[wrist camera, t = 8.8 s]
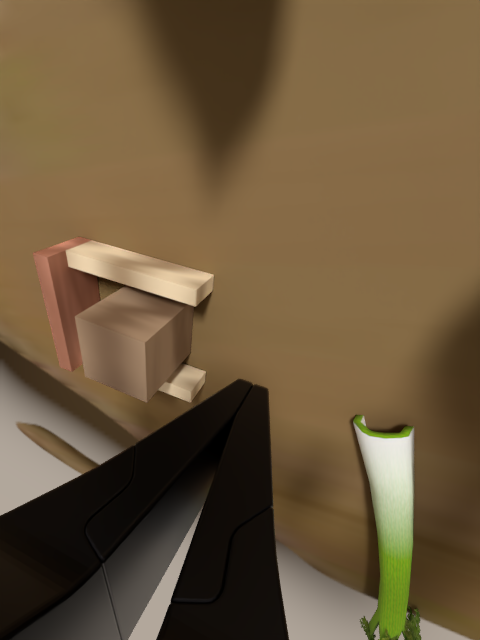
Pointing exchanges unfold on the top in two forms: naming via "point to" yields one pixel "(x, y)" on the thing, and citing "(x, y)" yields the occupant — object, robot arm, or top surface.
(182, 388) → the channel
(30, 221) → the top surface
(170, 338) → the block
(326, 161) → the top surface
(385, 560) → the leek
